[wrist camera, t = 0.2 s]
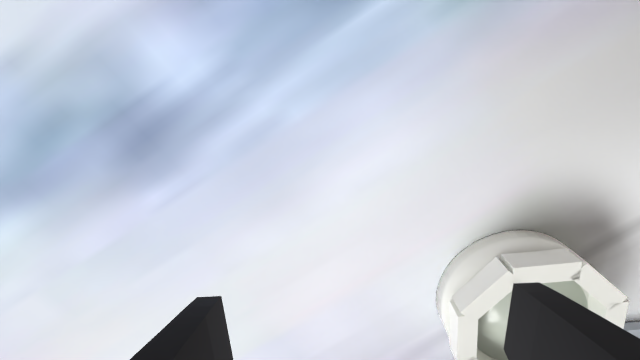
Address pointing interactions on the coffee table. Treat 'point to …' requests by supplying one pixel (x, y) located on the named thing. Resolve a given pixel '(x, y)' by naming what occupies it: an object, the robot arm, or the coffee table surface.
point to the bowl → (497, 283)
